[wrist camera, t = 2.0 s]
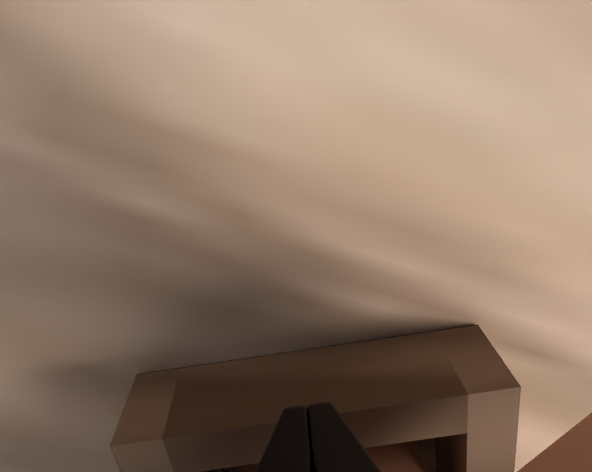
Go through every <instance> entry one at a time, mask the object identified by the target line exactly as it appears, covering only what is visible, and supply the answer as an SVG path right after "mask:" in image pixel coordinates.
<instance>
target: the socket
mask: <svg viewBox="0 0 592 472" xmlns="http://www.w3.org/2000/svg"><path fill="white" fill-rule="evenodd" d="M520 392H521V386H520V385H519V383H518V382H517V381H516V379H515V378H514V376H513V375H512V373H511V372H510V370H509V369H508V368H507V366H506V365H505V363H504V362H503V360H502V359H501V357H500V356H499V355H498V353H497V352H496V350H495V349H494V347H493V346H492V344H491V343H490V342H489V340H488V339H487V337H486V336H485V334H484V333H483V332H482V330H481V329H480V327H479V326H478V325H473V326H466V327H460V328H453V329H446V330H439V331H432V332H425V333H419V334H412V335H405V336H398V337H391V338H384V339H377V340H371V341H364V342H357V343H350V344H343V345H336V346H329V347H323V348H316V349H309V350H302V351H295V352H288V353H281V354H275V355H268V356H261V357H254V358H247V359H240V360H233V361H227V362H220V363H213V364H206V365H199V366H192V367H186V368H179V369H172V370H165V371H158V372H151V373H144V374H138V375H137V376H136V378H135V381H134V384H133V386H132V389H131V392H130V394H129V397H128V400H127V402H126V405H125V408H124V410H123V413H122V416H121V418H120V421H119V424H118V426H117V429H116V432H115V434H114V437H113V440H112V442H111V445H110V447H111V450H112V452H113V455H114V457H115V459H116V462H117V464H118V467H119V469H120V471H121V472H212V471H211V470H215V469H222V468H229V467H236V466H242V465H249V464H256V463H259V462H260V460H261V457H262V455H263V453H264V451H265V448H266V446H267V444H268V442H269V440H270V437H271V435H272V433H273V431H274V428H275V426H276V424H277V422H278V420H279V417H280V415H281V413H282V411H283V409H285V408H286V407H292V406H299V405H305V406H307V408H308V406H309V405H310V404H312V403H319V402H326V401H329V402H331V403H332V404H333V405H334V406H335V408H336V409H337V410H338V412H339V413H340V415H341V416H342V417H343V419H344V420H345V421H346V423H347V424H348V426H349V427H350V428H351V430H352V431H353V433H354V434H355V435H356V437H357V438H358V440H359V441H360V442H361V444H362V445H363V446H364V448H367V447H374V446H381V445H388V444H395V443H402V442H409V441H416V440H423V439H430V438H436V462H437V472H514V467H515V454H516V442H517V429H518V417H519V404H520Z"/></svg>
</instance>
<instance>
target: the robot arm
mask: <svg viewBox="0 0 592 472" xmlns="http://www.w3.org/2000/svg"><path fill="white" fill-rule="evenodd" d="M255 472H382V471H381V470H380V469H379V467H378V466H377V464H376V463H375V462H374V460H373V459H372V458H371V456H370V455H369V453H368V452H367V451H366V449H365V448H364V446H363V445H362V444H361V442H360V441H359V440H358V438H357V437H356V435H355V434H354V433H353V431H352V430H351V428H350V427H349V426H348V424H347V423H346V421H345V420H344V419H343V417H342V416H341V415H340V413H339V412H338V410H337V409H336V408H335V406H334V405H333V404H332V403H331V402H329V401H326V402H319V403H312V404H310V405H309V406H308V408H307V406H305V405H299V406H292V407H286V408H285V409H283V411H282V413H281V415H280V417H279V420H278V422H277V424H276V426H275V428H274V431H273V433H272V435H271V437H270V440H269V442H268V444H267V446H266V448H265V451H264V453H263V455H262V457H261V460H260V462H259V464H258V466H257V468H256V471H255Z"/></svg>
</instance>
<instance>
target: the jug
mask: <svg viewBox="0 0 592 472" xmlns="http://www.w3.org/2000/svg"><path fill="white" fill-rule="evenodd" d="M365 449H366V451H367V452H368V453H369V455H370V456H371V458H372V459H373V460H374V462H375V463H376V464H377V466H378V467H379V469H380V470H381V471H382V472H428V469H427V466H426V464H425V461H424V458H423V455H422V452H421V449H420V447H419V444H418V441H417V440H416V441H409V442H402V443H395V444H388V445H381V446H374V447H367V448H365ZM258 464H259V463H256V464H249V465H242V466H236V467H230V470H229V472H255V471H256V468H257V466H258ZM517 472H592V413H591V414H589V415H588V416H587V417H586V418H584V419H583V420H582V421H581V422H579V423H578V424H577V425H576V426H574V427H573V428H572V429H570V430H569V431H568V432H567V433H565V434H564V435H563V436H562V437H560V438H559V439H558V440H557V441H555V442H554V443H553V444H552V445H550V446H549V447H548V448H547V449H545V450H544V451H543V452H541V453H540V454H539V455H538V456H536V457H535V458H534V459H533V460H531V461H530V462H529V463H528V464H526V465H525V466H524V467H523V468H521V469H520V470H519V471H517Z"/></svg>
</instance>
